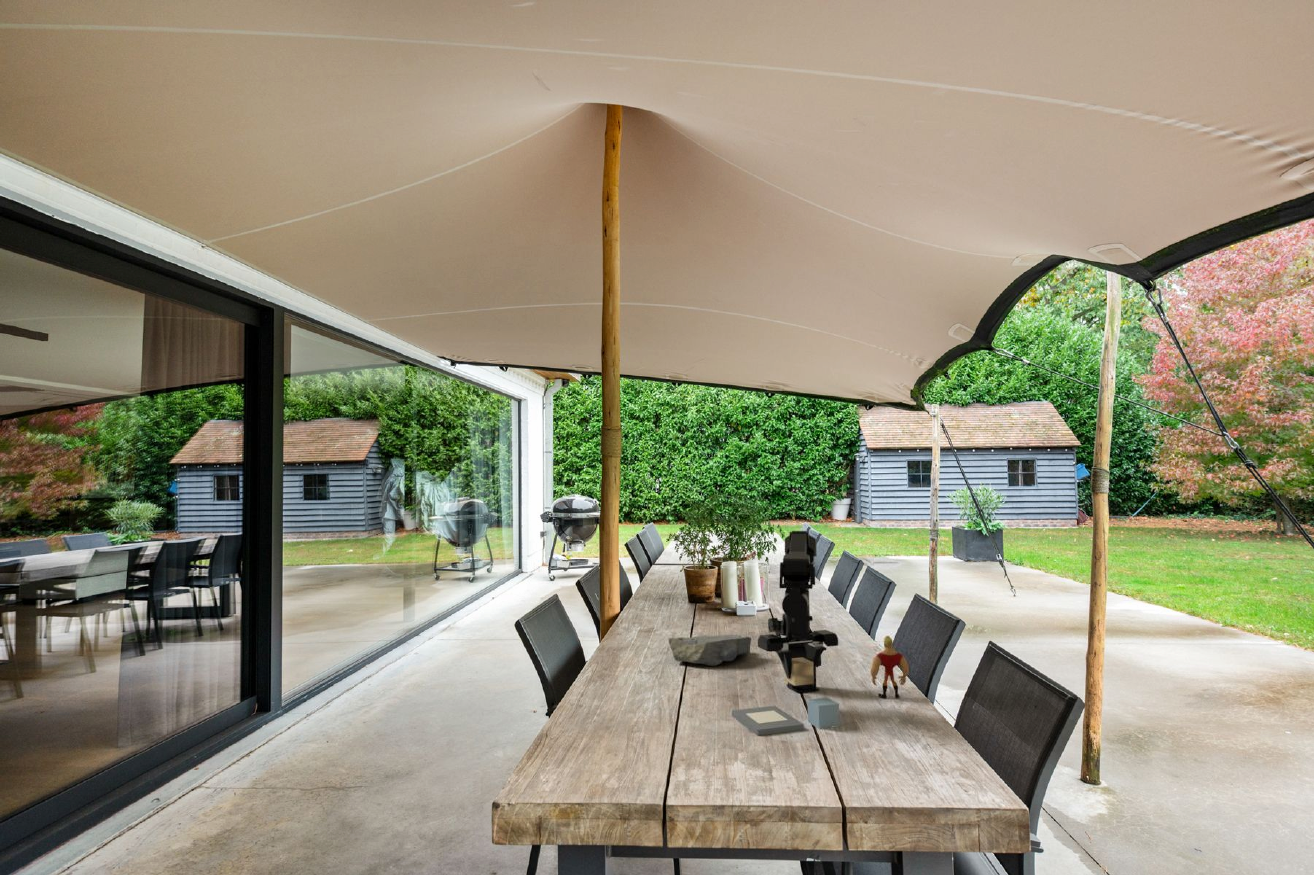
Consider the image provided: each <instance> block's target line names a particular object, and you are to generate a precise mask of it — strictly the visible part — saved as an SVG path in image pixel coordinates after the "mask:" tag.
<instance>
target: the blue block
mask: <svg viewBox="0 0 1314 875" xmlns="http://www.w3.org/2000/svg"><path fill="white" fill-rule="evenodd" d="M806 700H807V722H808V723H810V725H813V726H814V727H815V726H816V729H819V730H823V729H828V728H827V727H831V728H833V727H832V726H839V727H840V703H838V702H836V701H835V700H833V699H831V698H830V697H819V698H810V699H806ZM822 728H823V729H822Z"/></svg>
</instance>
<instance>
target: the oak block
mask: <svg viewBox="0 0 1314 875" xmlns="http://www.w3.org/2000/svg"><path fill="white" fill-rule="evenodd" d="M784 681H785V682H787V683H788V682H789V683H790V684H792V685H794V686H798V685H807V684H814V672H813V662H812V661H810V660H807V659H805V658H803V657H802V658H792V670H791V678H790V679H788V678H787V676H786V673H785V672H784Z"/></svg>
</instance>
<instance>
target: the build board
mask: <svg viewBox="0 0 1314 875" xmlns="http://www.w3.org/2000/svg"><path fill="white" fill-rule="evenodd" d="M731 716H732V717H733V718H734V719H735V718H736V719H735V720H737V721H738V722H739V723H740V722H741V725H743V726H744V727H746V728H747V729H748V730H750V731H751V732H752V731H753V732H752V733H753V734H755V735H756V736H764V735H765V736H766V735H773V734H780V733H789V732H791V733H792V732H795V731H796V732H797V731H798V732H799V731H804V730H805V728H804V727H805V726H804V725H805V724H804V723H803V722H801V721H799V720H798V719H796V718H795V717H793V716H792V715H790V714H788V713H787V712H786V711H783V710H782V709H781V708H779V707H778V706H776V705H769V706H760V707H751V708H743V709H742V708H741V709H734V710H731Z"/></svg>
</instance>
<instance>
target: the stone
mask: <svg viewBox="0 0 1314 875" xmlns="http://www.w3.org/2000/svg"><path fill="white" fill-rule="evenodd" d="M751 642H752V637H751V636H741V635H740V634H725V635H723V634H722V635H720V634H719V635H698V636H692V637H683V636H682V637H674V638H673V637H671V638H670V637H669V638H668V644H669V647H670V648H671V652H672V655H673V658H674V660H675V661H676V662H687V663H691V664H701V665H705V666H710V667H715V666H718V665H720V664H722V663H723V662H731V661H732V662H733V660H735V659H736V658H737V656H742V655H748V654H749V653H751Z"/></svg>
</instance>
